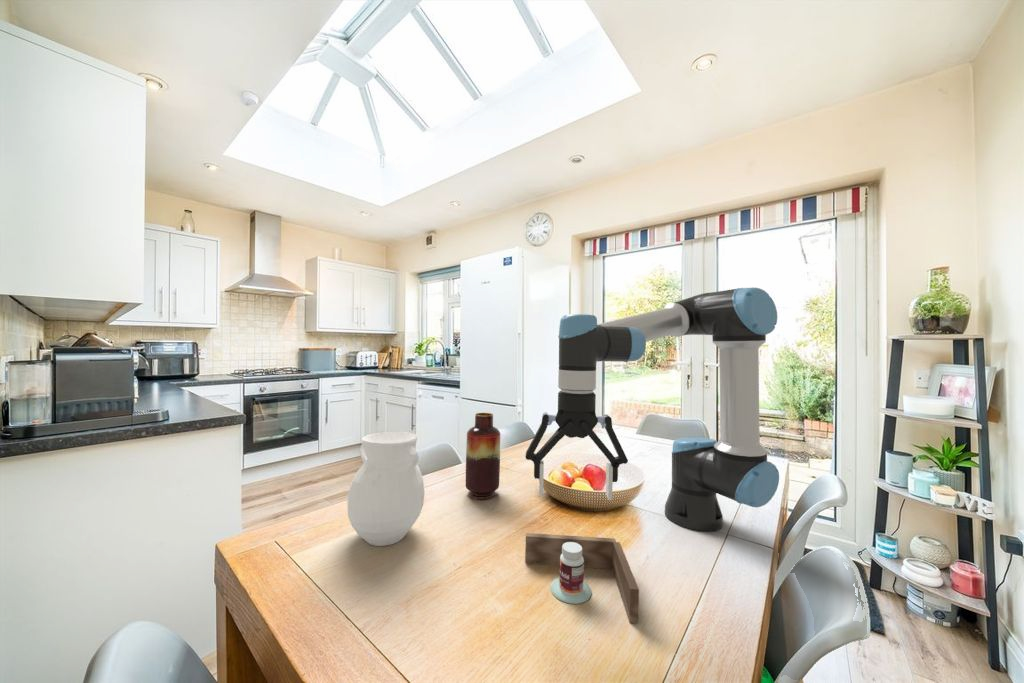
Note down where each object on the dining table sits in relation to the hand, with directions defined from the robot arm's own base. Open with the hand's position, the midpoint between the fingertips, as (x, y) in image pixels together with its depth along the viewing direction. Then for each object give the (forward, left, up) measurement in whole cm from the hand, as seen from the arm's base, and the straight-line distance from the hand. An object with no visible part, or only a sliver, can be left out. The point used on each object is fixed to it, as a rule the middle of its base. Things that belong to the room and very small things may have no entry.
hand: (574, 495), depth 75 cm
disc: (0, +1, -19) cm, 19 cm away
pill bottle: (0, +1, -19) cm, 19 cm away
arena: (0, 0, -19) cm, 19 cm away
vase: (+25, -44, -19) cm, 55 cm away
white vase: (+45, -15, -19) cm, 52 cm away
